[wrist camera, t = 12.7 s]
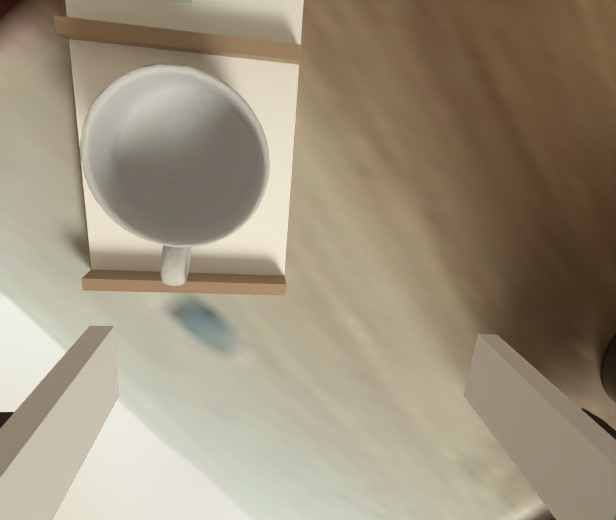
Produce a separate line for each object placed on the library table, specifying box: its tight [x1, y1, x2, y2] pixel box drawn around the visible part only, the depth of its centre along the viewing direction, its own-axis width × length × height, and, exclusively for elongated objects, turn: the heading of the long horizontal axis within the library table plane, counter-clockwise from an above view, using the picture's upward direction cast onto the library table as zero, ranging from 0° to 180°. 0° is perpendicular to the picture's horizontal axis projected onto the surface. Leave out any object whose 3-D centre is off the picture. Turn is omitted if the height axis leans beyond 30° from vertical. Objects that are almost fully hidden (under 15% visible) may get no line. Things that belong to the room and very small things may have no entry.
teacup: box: [79, 64, 270, 286], centre depth 28 cm, size 14×11×8 cm
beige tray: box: [54, 0, 304, 295], centre depth 28 cm, size 16×37×3 cm, turn 175°
